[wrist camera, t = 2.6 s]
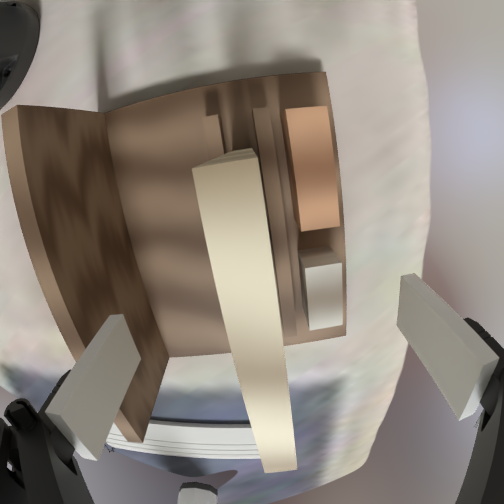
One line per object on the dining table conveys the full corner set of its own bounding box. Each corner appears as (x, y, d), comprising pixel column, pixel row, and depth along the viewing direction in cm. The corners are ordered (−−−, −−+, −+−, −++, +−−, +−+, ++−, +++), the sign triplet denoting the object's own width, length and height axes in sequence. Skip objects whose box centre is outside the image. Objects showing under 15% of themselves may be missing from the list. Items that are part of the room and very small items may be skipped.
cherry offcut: (279, 114, 23) (285, 109, 19) (315, 111, 23) (326, 105, 19) (293, 218, 26) (301, 231, 22) (327, 213, 26) (339, 226, 22)
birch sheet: (232, 150, 24) (192, 168, 7) (251, 147, 24) (257, 157, 7) (257, 300, 29) (265, 473, 12) (273, 298, 29) (297, 469, 12)
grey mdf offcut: (297, 250, 27) (304, 268, 23) (329, 245, 27) (341, 262, 23) (302, 307, 29) (309, 330, 25) (332, 302, 29) (342, 324, 25)
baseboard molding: (285, 456, 42) (288, 417, 38) (286, 469, 40) (290, 432, 36) (115, 446, 43) (91, 407, 38) (111, 458, 40) (85, 419, 36)
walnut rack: (98, 118, 24) (1, 114, 11) (321, 75, 23) (383, 24, 10) (160, 350, 33) (127, 441, 20) (342, 327, 32) (382, 419, 19)
